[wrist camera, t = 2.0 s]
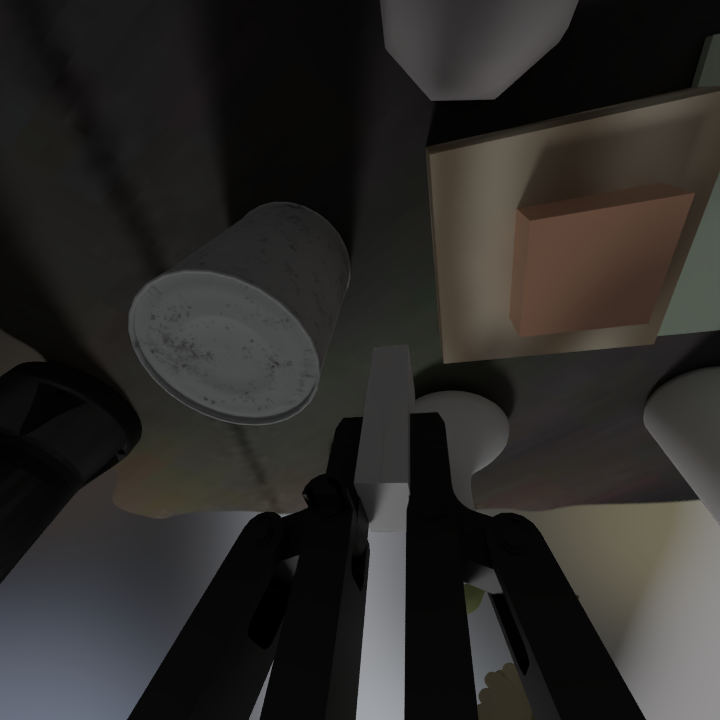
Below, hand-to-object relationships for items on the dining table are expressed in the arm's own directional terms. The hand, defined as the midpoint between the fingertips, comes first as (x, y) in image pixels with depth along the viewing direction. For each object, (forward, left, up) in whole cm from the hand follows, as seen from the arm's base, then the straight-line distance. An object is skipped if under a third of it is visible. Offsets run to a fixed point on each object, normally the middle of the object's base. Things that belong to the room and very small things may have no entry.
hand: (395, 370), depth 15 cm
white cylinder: (-8, +1, -13) cm, 16 cm away
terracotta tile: (+11, 0, -9) cm, 14 cm away
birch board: (+10, 0, -13) cm, 16 cm away
